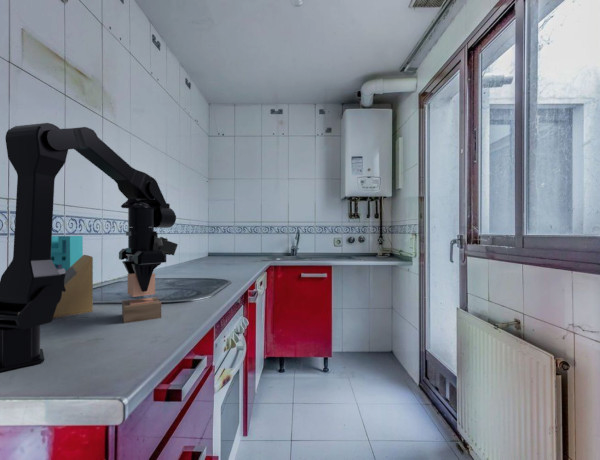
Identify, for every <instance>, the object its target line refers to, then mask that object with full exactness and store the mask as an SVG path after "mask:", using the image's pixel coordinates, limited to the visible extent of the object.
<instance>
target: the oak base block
mask: <svg viewBox="0 0 600 460" xmlns="http://www.w3.org/2000/svg"><path fill="white" fill-rule="evenodd" d="M121 307H122V308H121V315H122V321H123V323H124V324H128V323H129V324H130V323H136V322H142V321H149V320H150V321H151V320H157V319H158V320H159V319H162V302H161V300H159V298H158V297H155V296H154V297H146V298H136V299H126V300H122V301H121Z"/></svg>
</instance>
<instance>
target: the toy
mask: <svg viewBox="0 0 600 460" xmlns="http://www.w3.org/2000/svg"><path fill="white" fill-rule="evenodd" d="M83 239H84V237H83V235H52V244H51V260H52V262H53V264H54V265H55V267H56V268H64V269H65V271H66V270H68V269H69V268H70V267H71V266H72V265H73V264H74V263H75V262H76V261H77V260H79V259H80V258H81V257H82V256H83V255H84V254H83V253H84V251H83V248H84V246H83V244H84V241H83Z"/></svg>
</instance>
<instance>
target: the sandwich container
mask: <svg viewBox="0 0 600 460" xmlns="http://www.w3.org/2000/svg"><path fill="white" fill-rule="evenodd" d="M93 259H94V258H93V256H91V255H88V254H83V256H82V257H81V258H80V259H79V260H77V261H76V262H75V263H74V264H73V265H72V266H71V267H70V268H69V269H68V270H66V271H65V272H66V275H65V279H64V287H65V289H66V291H65V292H62V297H61V300H60V302H59V303H58V304H57V307H56V310H55V313H54V316H53V319H56V318H62V317H68V316H74V315H79V314H86V313H91V312H94V311H93V307H94V304H93V301H94V297H93V296H94V293H93V292H94V291H93V290H94V289H93V288H94V287H93V286H94V281H93V274H94V272H93V269H94V265H93V264H94V260H93ZM19 313H20V312H18V314H19Z"/></svg>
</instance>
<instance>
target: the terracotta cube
mask: <svg viewBox="0 0 600 460" xmlns="http://www.w3.org/2000/svg"><path fill="white" fill-rule="evenodd" d="M127 295H129V296H130V297H133V298H136V297H143V296H151V295H156V274H155V273H152V276H151V279H150V283H149V286H148V289H147V291H145V292H142V290H141V288H140V286H139V283H138V280H137V278H136V275H135V273H132V274H128V273H127Z"/></svg>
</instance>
